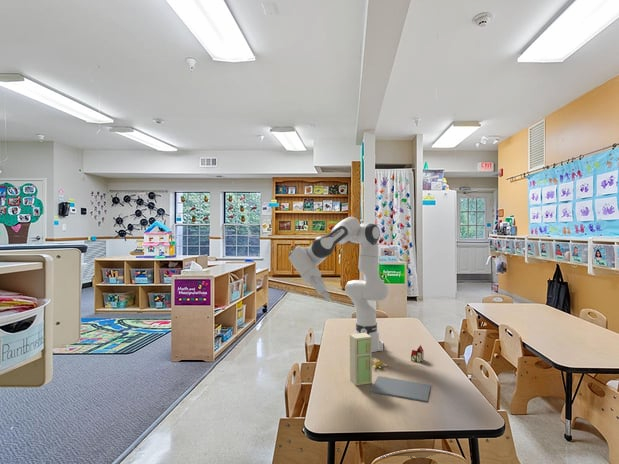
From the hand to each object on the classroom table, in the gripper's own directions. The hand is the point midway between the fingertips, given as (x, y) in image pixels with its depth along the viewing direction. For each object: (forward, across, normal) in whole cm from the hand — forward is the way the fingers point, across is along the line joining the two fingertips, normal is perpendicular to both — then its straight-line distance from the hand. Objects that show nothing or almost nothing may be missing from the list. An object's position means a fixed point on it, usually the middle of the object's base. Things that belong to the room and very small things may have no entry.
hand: (329, 300), depth 166 cm
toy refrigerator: (+37, 0, +11) cm, 39 cm away
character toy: (+40, +16, +3) cm, 44 cm away
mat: (+48, -6, -2) cm, 48 cm away
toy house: (+51, +28, -15) cm, 60 cm away
